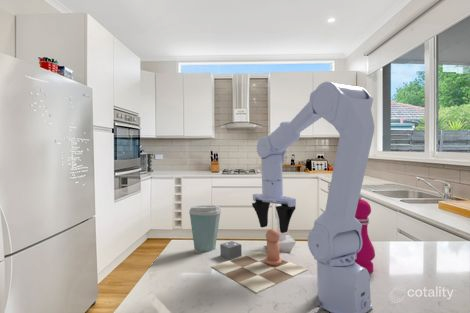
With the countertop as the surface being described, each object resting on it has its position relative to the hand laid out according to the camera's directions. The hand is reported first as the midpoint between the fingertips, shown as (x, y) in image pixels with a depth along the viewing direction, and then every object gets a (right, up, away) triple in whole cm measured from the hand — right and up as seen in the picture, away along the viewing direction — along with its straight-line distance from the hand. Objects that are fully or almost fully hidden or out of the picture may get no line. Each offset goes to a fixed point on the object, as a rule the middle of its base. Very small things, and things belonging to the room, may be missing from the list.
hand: (273, 229), depth 72 cm
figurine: (+5, -10, +12) cm, 17 cm away
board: (-5, -10, -4) cm, 12 cm away
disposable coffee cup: (-20, -11, +13) cm, 27 cm away
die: (-12, -11, +6) cm, 17 cm away
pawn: (0, -9, 0) cm, 9 cm away
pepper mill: (+23, -10, -3) cm, 25 cm away
